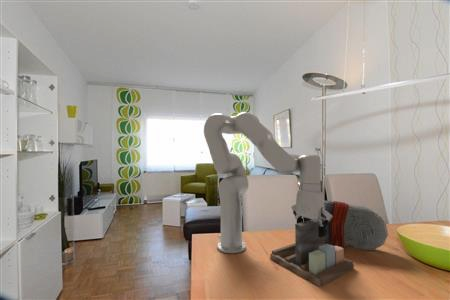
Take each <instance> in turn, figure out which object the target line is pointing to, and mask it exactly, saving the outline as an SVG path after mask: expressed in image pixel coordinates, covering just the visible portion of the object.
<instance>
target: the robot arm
mask: <svg viewBox="0 0 450 300" xmlns="http://www.w3.org/2000/svg"><path fill="white" fill-rule="evenodd" d="M223 134H227V135H237V134H242V135H243V136H245V138H246V139H248V141H250V143H252V144H253V145H254V146H255V147H256V149H257V151H258V152H259V153H260V154H261V156H262V157H263V158H264V159H265V160H266V161H267V162H268V163H269V165H270V166H272V167H273V168H274V169H275V170H276V171H277V172H278V173H280V174H282V175H287V176H288V175H291V174H294V173H299V182H298V183H297V186H298V187H299V189H298V190H297V193H296V197H295V198H296V199H295V204H294V205H291V211H293V212H292V213H293V215H294V218H295V219H296V224H297V223H301V222H304V219H309V220H317V221H318V223H319V225H320V226H319V227H318V236H319V237H320V238H321V237H324V236H325V234H326V225H327V224H329V223H330V221H331V219H332V217H333V216H332V215H331V214H330V213H329V212H327V211H326V210H325V206H324V200H325V199H324V194H323V191H322V179H321V177H322V175H321V174H322V171H321V169H322V167H321V165H322V164H321V162H322V161H321V156H319V155H318V154H303V155H302V154H300V155H299V154H293V153H288V152H287V151H286V150H285V149H284V148H283V147H282V146H281V145H280V144H279V143H278V142H277V141H276V140H275V138H274V135H273V133H272V132H271V131H270V129H268V128H267V127H266V126H265V125H263V124H262V123H261V122H260V120H259V118H258V117H257V115H254V114H252V113H251V112H246V111H243V112H240V113H238V114H237V115H235V116H230V115H228V114H227V115H226V114H224V113H220V112H219V113H213V114H211V115H209V116H208V118H207V119H206V120H205V123H204V125H203V136H204V139H205V143H206V144H207V148H208V149H209V154H210V157H211V160H212V163H213V167H214V170H215V171H216V172H217V173H218V174H219V175H226V177H224V178H222V180H221V181H220V182H219V184H218V195H219V196H218V197H219V203H220V204H219V206H220V210H219V211H220V234H218V238H219V240H220V241H219V242H218V243H217V250H218V251H219V252H221V253H225V254H239V253H242V252H243V251H245V250H246V249H247V247H246V243H245V242H244V241H243V206H242V200H241V195H243V194H245V193H246V192H247V191H248V189H249V179H248V176H247V173H246V170H245V168H244V165H243V162H242V159H241V158H240V157H239V155H237V154H235V153H233V152H232V153H231V152H230V150H229V147H228V143H227V141H226V139H225V138H224V135H223ZM325 216H326V220H325V219H324V217H325Z"/></svg>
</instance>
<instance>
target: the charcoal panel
mask: <svg viewBox="0 0 450 300" xmlns="http://www.w3.org/2000/svg"><path fill="white" fill-rule="evenodd" d="M294 225H295V228H294V230H295V231H294V232H295V233H294V236H295V237H294V239H295V241H294V243H295V253H294V254H296V265H297V266H299V267H300V266H301V265H303V264H306V263H308V262H309V253H311V252H313V251H316V250H319V246H321V245H324V244H326V242H325V236H324V237H321V238H320V237H319V236H318V227H319V226H320V225H319V223H318V221H317V220H311V219H309V220H306V221H303V222H301V223H297V222H296V223H295V224H294Z"/></svg>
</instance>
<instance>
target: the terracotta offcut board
mask: <svg viewBox="0 0 450 300" xmlns="http://www.w3.org/2000/svg"><path fill="white" fill-rule="evenodd" d="M344 253H345V249H344V247H339V246H335V265H337V264H340V263H342V262H344V259H345V254H344Z"/></svg>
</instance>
